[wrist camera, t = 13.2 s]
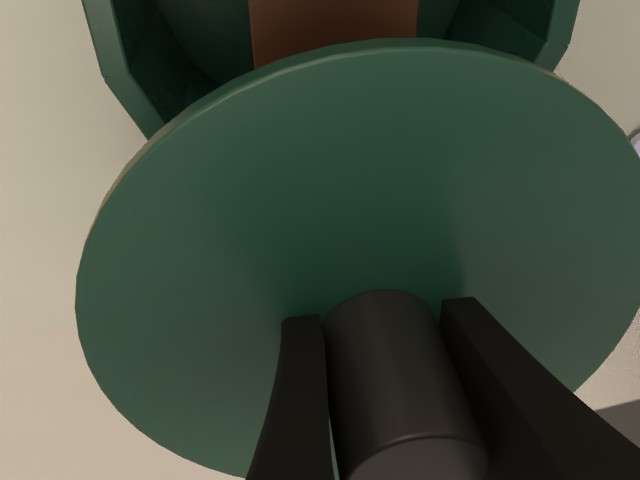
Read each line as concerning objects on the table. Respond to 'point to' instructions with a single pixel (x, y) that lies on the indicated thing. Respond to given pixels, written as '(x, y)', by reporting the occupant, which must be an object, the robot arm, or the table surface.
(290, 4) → the block
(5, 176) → the table surface
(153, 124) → the pot
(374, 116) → the lid
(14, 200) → the table surface
